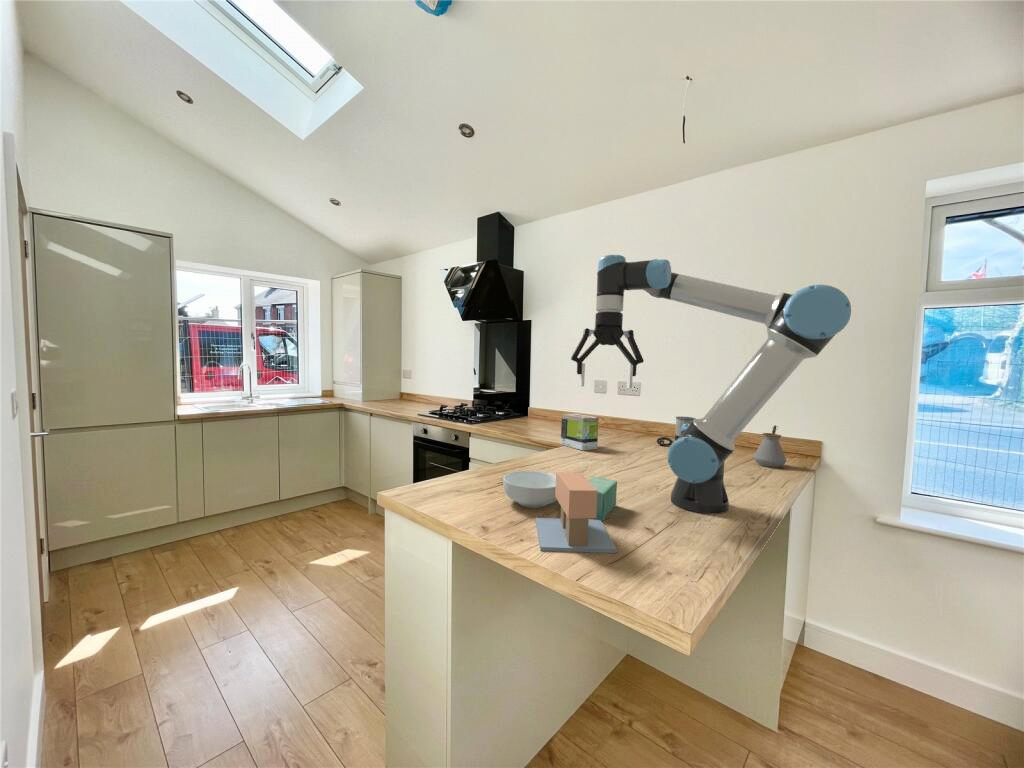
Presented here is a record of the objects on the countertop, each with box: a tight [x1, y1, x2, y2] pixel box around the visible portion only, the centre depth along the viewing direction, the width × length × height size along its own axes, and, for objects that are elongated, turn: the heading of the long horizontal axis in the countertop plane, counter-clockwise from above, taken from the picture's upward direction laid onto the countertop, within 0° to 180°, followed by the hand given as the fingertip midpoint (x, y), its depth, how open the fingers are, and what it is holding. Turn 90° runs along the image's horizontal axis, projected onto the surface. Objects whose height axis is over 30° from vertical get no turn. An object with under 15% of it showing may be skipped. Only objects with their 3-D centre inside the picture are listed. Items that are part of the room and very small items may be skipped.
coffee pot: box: [753, 424, 787, 469], centre depth 174 cm, size 21×12×15 cm, turn 143°
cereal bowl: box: [502, 470, 558, 509], centre depth 116 cm, size 17×17×7 cm
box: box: [587, 475, 618, 521], centre depth 112 cm, size 7×14×8 cm, turn 152°
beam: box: [555, 471, 598, 519], centre depth 95 cm, size 6×14×6 cm, turn 6°
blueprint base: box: [535, 506, 618, 554], centre depth 95 cm, size 16×16×7 cm
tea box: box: [560, 413, 600, 451], centre depth 194 cm, size 15×10×15 cm
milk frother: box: [656, 416, 697, 447], centre depth 202 cm, size 14×16×15 cm
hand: (605, 387), depth 119 cm, fingers open, 13 cm apart
